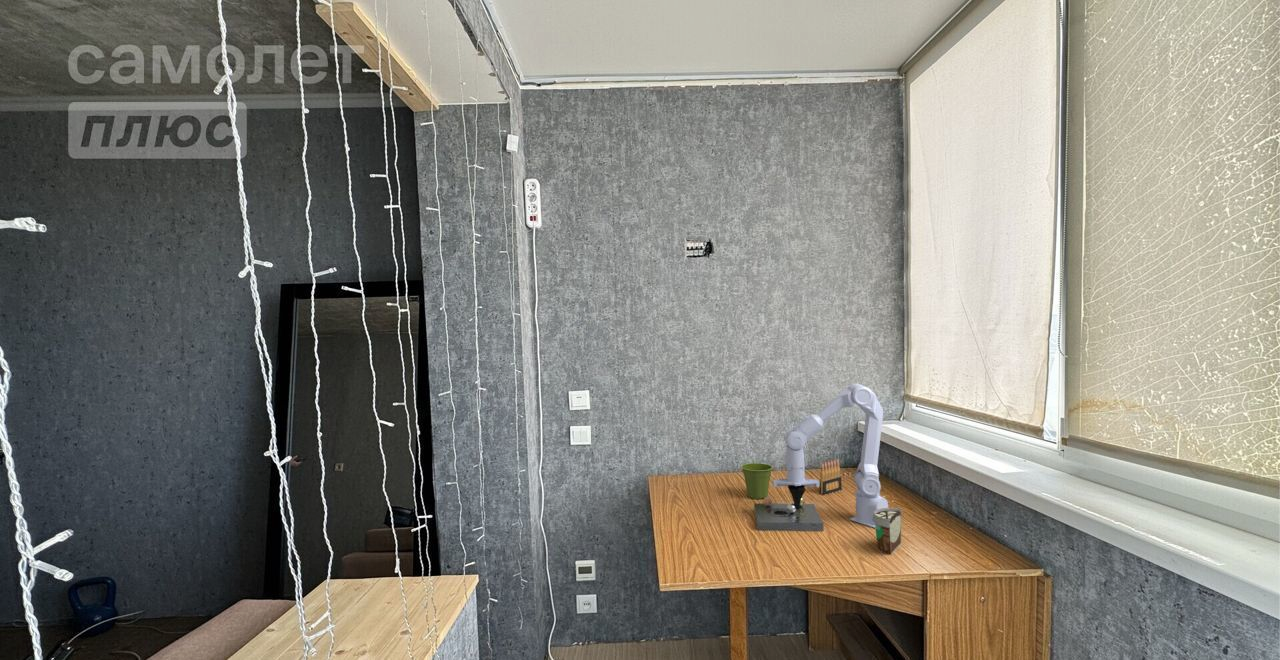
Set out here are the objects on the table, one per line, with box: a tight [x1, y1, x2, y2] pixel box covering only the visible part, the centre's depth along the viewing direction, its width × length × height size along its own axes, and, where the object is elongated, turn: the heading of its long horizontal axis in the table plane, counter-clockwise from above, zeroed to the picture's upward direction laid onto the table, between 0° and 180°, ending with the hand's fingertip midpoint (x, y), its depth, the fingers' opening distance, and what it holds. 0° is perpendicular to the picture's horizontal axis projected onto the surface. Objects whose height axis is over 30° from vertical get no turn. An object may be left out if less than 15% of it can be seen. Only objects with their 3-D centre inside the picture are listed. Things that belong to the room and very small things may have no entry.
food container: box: [872, 507, 903, 556], centre depth 170 cm, size 12×6×10 cm, turn 141°
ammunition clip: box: [819, 458, 843, 496], centre depth 223 cm, size 11×2×12 cm, turn 124°
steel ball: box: [787, 502, 797, 513], centre depth 194 cm, size 3×3×3 cm
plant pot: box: [740, 462, 774, 500], centre depth 220 cm, size 12×12×11 cm
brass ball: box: [799, 496, 806, 506], centre depth 200 cm, size 4×4×4 cm
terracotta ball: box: [762, 496, 773, 506], centre depth 202 cm, size 3×3×3 cm
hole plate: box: [753, 502, 825, 532], centre depth 194 cm, size 20×19×2 cm
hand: (796, 508), depth 194 cm, fingers closed, pressing on steel ball
